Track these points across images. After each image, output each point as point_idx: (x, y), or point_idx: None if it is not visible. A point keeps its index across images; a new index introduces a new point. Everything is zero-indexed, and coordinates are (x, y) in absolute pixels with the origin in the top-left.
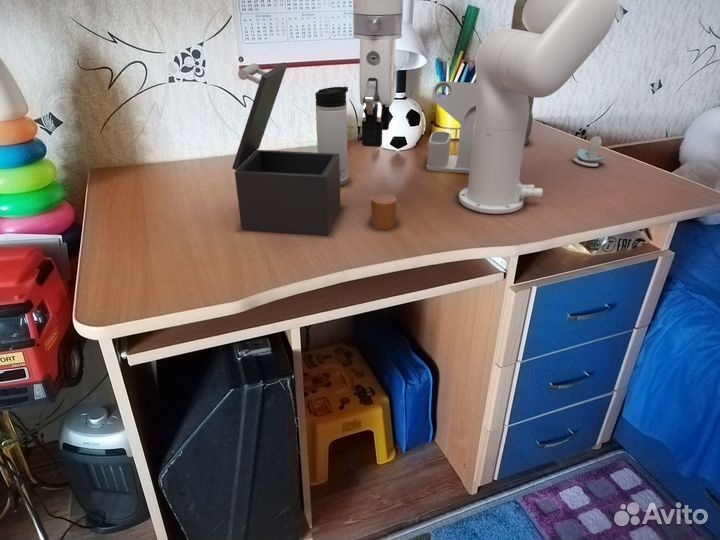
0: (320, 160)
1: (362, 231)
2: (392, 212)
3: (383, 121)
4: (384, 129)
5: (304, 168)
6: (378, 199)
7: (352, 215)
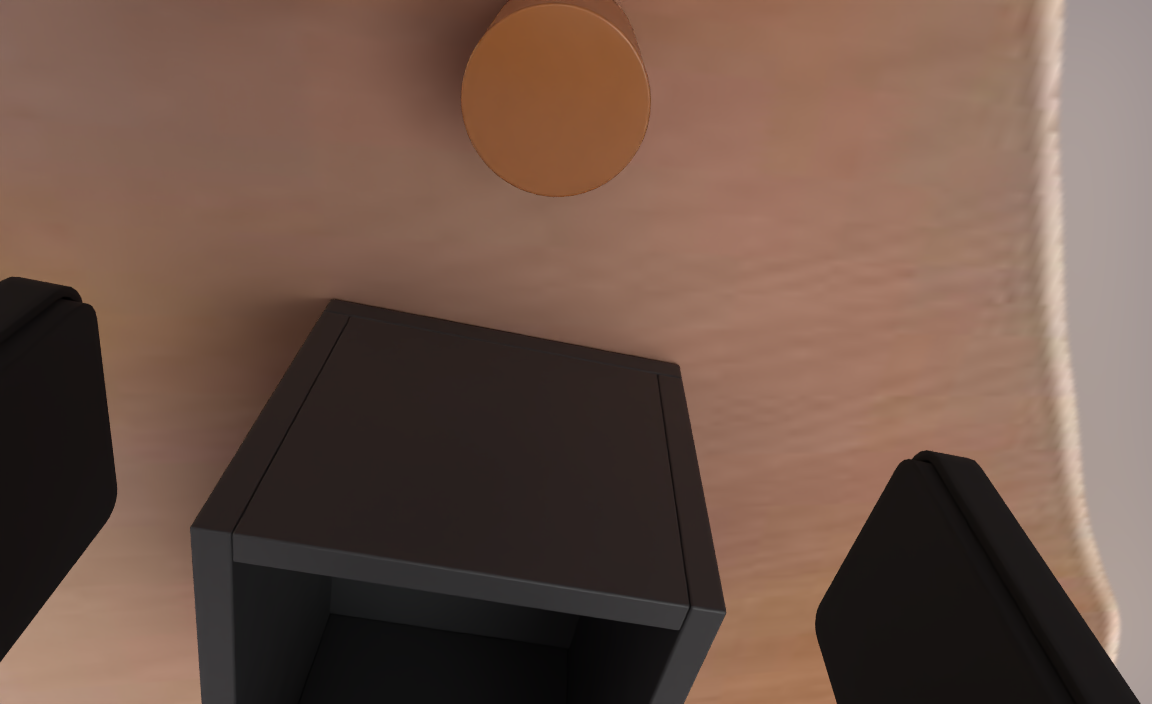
0: (250, 595)
1: (647, 196)
2: (626, 27)
3: (19, 436)
4: (97, 339)
5: (275, 621)
6: (564, 148)
7: (430, 238)
